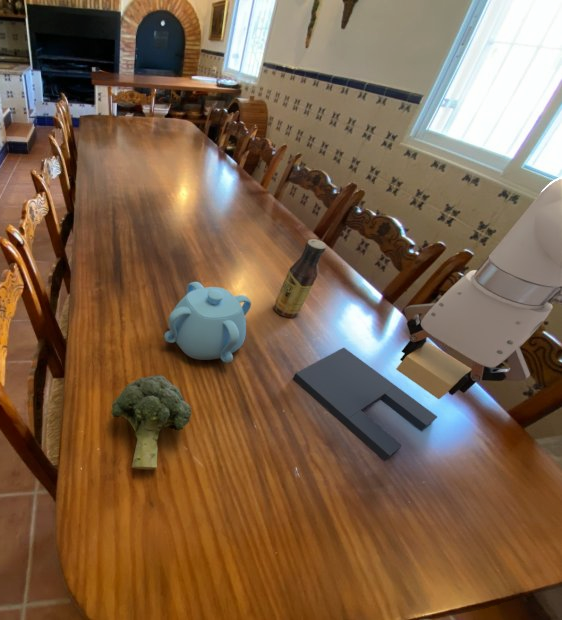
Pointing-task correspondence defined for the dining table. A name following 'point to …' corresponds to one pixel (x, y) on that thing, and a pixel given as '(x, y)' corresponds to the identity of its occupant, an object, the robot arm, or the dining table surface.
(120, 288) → the dining table surface
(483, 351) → the robot arm
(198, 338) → the decorative pot
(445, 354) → the pad
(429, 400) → the dining table surface
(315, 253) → the sauce bottle
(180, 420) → the vegetable
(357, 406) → the u-shaped block
